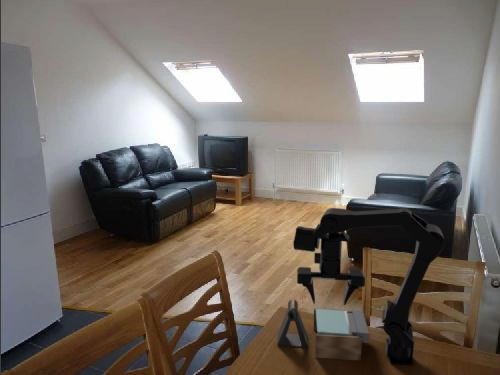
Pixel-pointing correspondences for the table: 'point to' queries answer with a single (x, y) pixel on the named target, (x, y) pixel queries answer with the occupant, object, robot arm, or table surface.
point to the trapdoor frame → (337, 344)
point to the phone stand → (283, 337)
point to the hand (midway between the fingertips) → (329, 303)
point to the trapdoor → (342, 323)
